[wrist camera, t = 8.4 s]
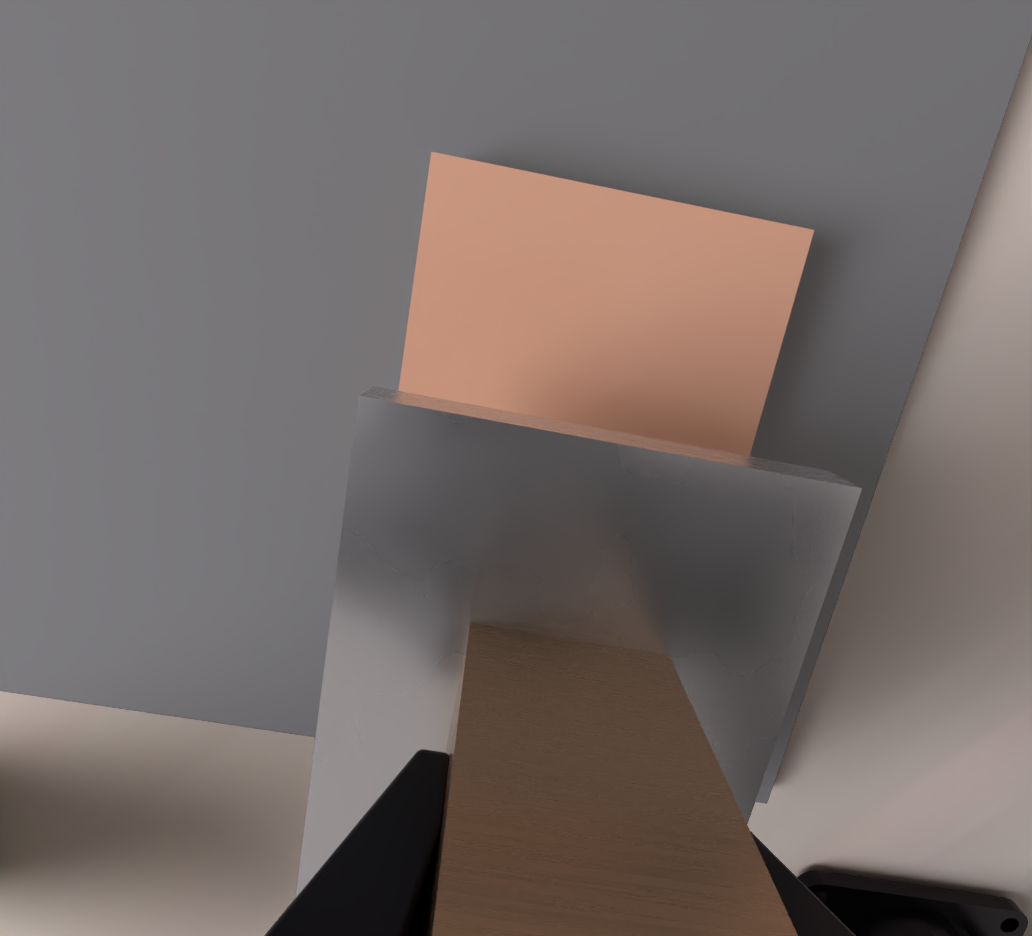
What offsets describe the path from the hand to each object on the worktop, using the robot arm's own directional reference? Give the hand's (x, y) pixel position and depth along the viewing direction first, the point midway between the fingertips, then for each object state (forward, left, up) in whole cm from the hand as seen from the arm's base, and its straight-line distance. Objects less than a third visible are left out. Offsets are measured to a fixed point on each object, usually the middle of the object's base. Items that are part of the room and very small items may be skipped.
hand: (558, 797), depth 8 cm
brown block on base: (0, 0, -2) cm, 2 cm away
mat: (+4, -5, -7) cm, 9 cm away
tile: (0, -1, -6) cm, 6 cm away
